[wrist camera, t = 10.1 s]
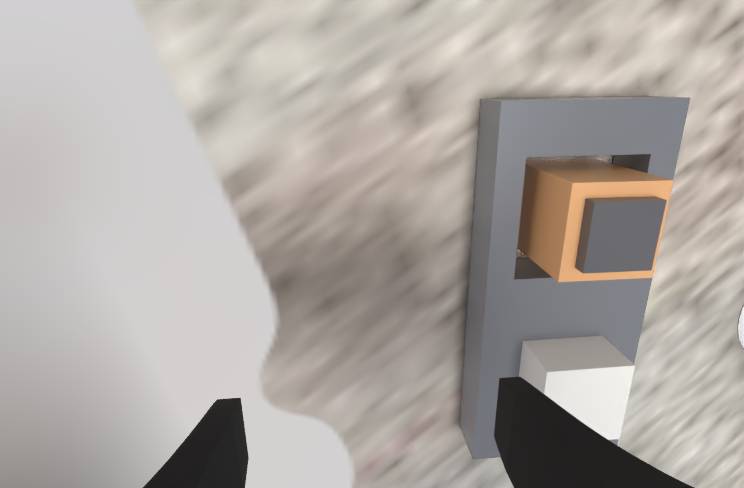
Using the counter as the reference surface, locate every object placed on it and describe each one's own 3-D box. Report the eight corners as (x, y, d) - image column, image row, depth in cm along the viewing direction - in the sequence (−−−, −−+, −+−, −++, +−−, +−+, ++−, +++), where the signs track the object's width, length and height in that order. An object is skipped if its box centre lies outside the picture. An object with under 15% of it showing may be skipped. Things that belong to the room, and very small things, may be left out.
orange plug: (585, 238, 23) (662, 283, 18) (509, 241, 23) (565, 288, 17) (598, 159, 22) (685, 183, 17) (517, 161, 21) (581, 186, 16)
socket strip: (584, 447, 28) (638, 521, 23) (457, 459, 27) (485, 538, 22) (649, 96, 21) (743, 99, 16) (480, 98, 20) (528, 103, 16)
